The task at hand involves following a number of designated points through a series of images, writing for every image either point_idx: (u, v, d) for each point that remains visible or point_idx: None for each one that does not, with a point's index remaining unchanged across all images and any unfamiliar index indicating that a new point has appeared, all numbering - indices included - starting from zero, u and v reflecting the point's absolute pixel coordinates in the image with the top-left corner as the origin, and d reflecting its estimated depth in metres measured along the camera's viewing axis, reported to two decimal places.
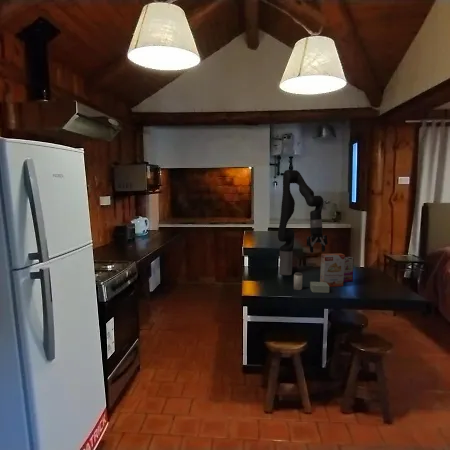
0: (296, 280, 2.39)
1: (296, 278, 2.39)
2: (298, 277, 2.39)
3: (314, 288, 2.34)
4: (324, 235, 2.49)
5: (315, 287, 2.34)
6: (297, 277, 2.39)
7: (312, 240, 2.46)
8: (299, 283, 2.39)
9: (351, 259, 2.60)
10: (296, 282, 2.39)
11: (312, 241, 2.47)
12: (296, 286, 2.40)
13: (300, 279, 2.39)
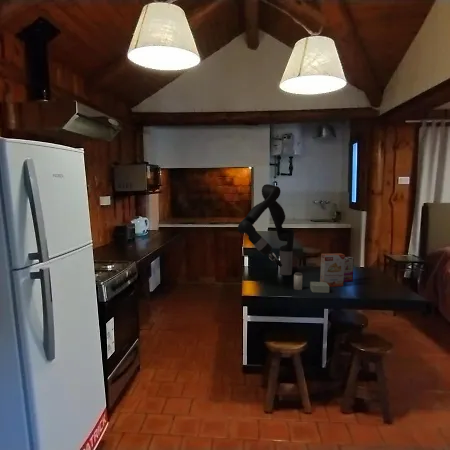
0: (296, 280, 2.39)
1: (296, 278, 2.39)
2: (298, 277, 2.39)
3: (314, 288, 2.34)
4: (269, 254, 2.35)
5: (315, 287, 2.34)
6: (297, 277, 2.39)
7: None
8: (299, 283, 2.39)
9: (351, 259, 2.60)
10: (296, 282, 2.39)
11: (274, 254, 2.43)
12: (296, 286, 2.40)
13: (300, 279, 2.39)
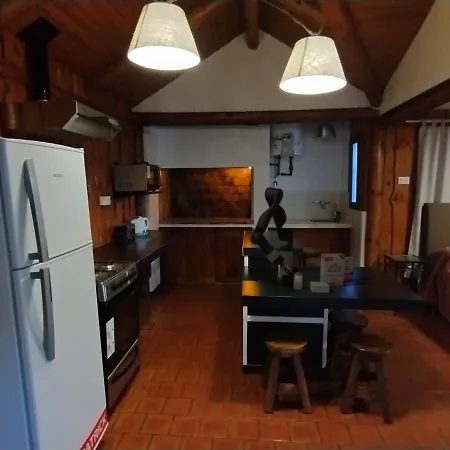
0: (296, 280, 2.39)
1: (296, 278, 2.39)
2: (298, 277, 2.39)
3: (314, 288, 2.34)
4: (282, 266, 2.35)
5: (315, 287, 2.34)
6: (297, 277, 2.39)
7: None
8: (299, 283, 2.39)
9: (351, 259, 2.60)
10: (296, 282, 2.39)
11: (286, 265, 2.44)
12: (296, 286, 2.40)
13: (300, 279, 2.39)
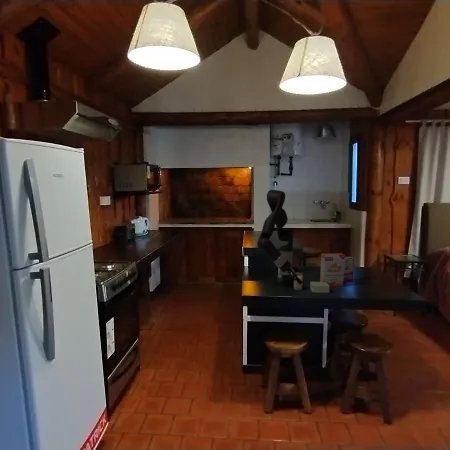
0: None
1: None
2: None
3: (314, 288, 2.34)
4: (290, 272, 2.35)
5: (315, 287, 2.34)
6: None
7: None
8: None
9: (351, 259, 2.60)
10: (296, 282, 2.39)
11: (293, 271, 2.43)
12: (296, 286, 2.40)
13: (300, 279, 2.39)
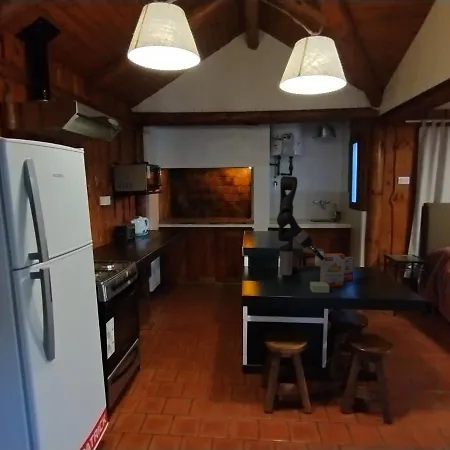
0: (317, 256, 2.35)
1: None
2: (320, 253, 2.34)
3: (314, 288, 2.34)
4: (312, 248, 2.31)
5: (315, 287, 2.34)
6: None
7: None
8: None
9: (351, 259, 2.60)
10: (317, 258, 2.35)
11: None
12: (317, 262, 2.35)
13: (322, 255, 2.34)
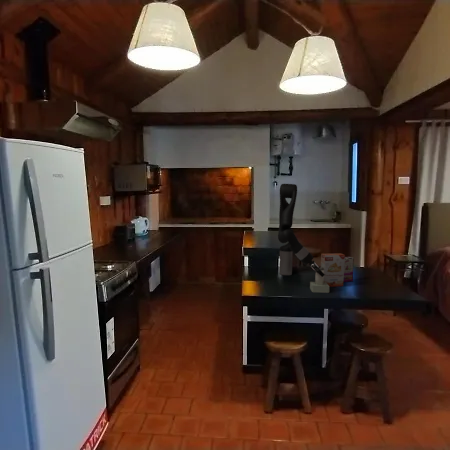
0: (318, 275, 2.36)
1: (318, 273, 2.36)
2: None
3: (314, 288, 2.34)
4: (312, 264, 2.32)
5: (315, 287, 2.34)
6: None
7: None
8: (321, 278, 2.36)
9: (351, 259, 2.60)
10: (318, 277, 2.36)
11: None
12: (318, 281, 2.36)
13: None
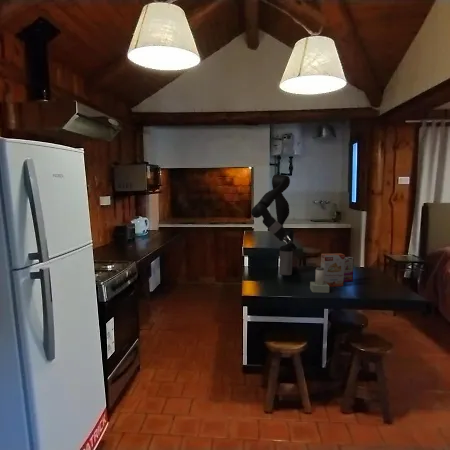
0: (318, 275, 2.36)
1: (318, 273, 2.36)
2: (320, 272, 2.35)
3: (314, 288, 2.34)
4: None
5: (315, 287, 2.34)
6: (319, 272, 2.36)
7: None
8: (321, 278, 2.36)
9: (351, 259, 2.60)
10: (318, 277, 2.36)
11: None
12: (318, 281, 2.36)
13: (322, 274, 2.36)
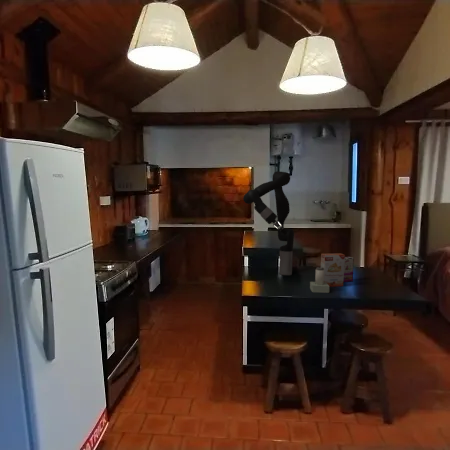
0: (318, 275, 2.36)
1: (318, 273, 2.36)
2: (320, 272, 2.35)
3: (314, 288, 2.34)
4: (275, 222, 2.43)
5: (315, 287, 2.34)
6: (319, 272, 2.36)
7: None
8: (321, 278, 2.36)
9: (351, 259, 2.60)
10: (318, 277, 2.36)
11: None
12: (318, 281, 2.36)
13: (322, 274, 2.36)
